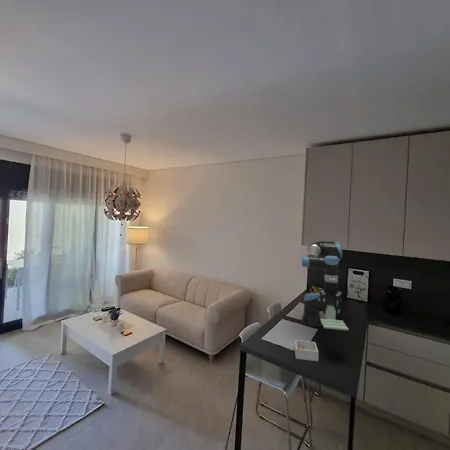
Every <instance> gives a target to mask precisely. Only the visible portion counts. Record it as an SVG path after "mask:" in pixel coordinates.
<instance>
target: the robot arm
mask: <svg viewBox="0 0 450 450" xmlns="http://www.w3.org/2000/svg"><path fill="white" fill-rule="evenodd" d="M341 258H343V248H342V244H341V242H339V241H325V240H324V241H323V240H320V241H319V240H318V241H315V242H313V243H311V244H310V245H308V248H307V255H303V256H302V257H301V266H302V267H303V268H310V269H323V270H324V287H323V290H322V289H321V290H318V292H308V293H305V294H304V299H303V302H304V304H303V314H302V317H301V320H300V321H301V323H302V324H303V325H304V326H306V327H312V328H320V327H322V326H323V325H322V323H321V321H320V318H321V314H320V313H321V312H322V313H323V314H324V319H327V308H326V307H327V305H333V306H334V307H335V317H334V319H335V320H336V317H337V315H338V314H339V313H340V312H341V309H342V301H343V300H342V298H343V295H344V293H343V292H342V291H339V290H338V289H339V288H338V286H339V262H340V260H341ZM321 319H322V318H321Z"/></svg>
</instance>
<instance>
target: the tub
mask: <svg viewBox="0 0 450 450" xmlns="http://www.w3.org/2000/svg"><path fill="white" fill-rule="evenodd" d="M298 346H303V347H304V349H298ZM294 355H295V359H297V360H305V361H313V362H319V349H318V347H317V343H316V342H315V341H306V340H300V339H299V340H298V339H294Z"/></svg>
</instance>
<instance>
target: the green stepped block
mask: <svg viewBox="0 0 450 450" xmlns="http://www.w3.org/2000/svg"><path fill="white" fill-rule="evenodd" d="M326 308H327V319H325V318H320V321H321V323H322V325H321V326H323V329H329V330H331V329H332V330H339V331H340V330H341V331H349V328H348V327H347V325H346V323H345V322H344V320H340V319H336V318H335V319H334V317H335V307H334V306H333V305H327V307H326Z"/></svg>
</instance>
